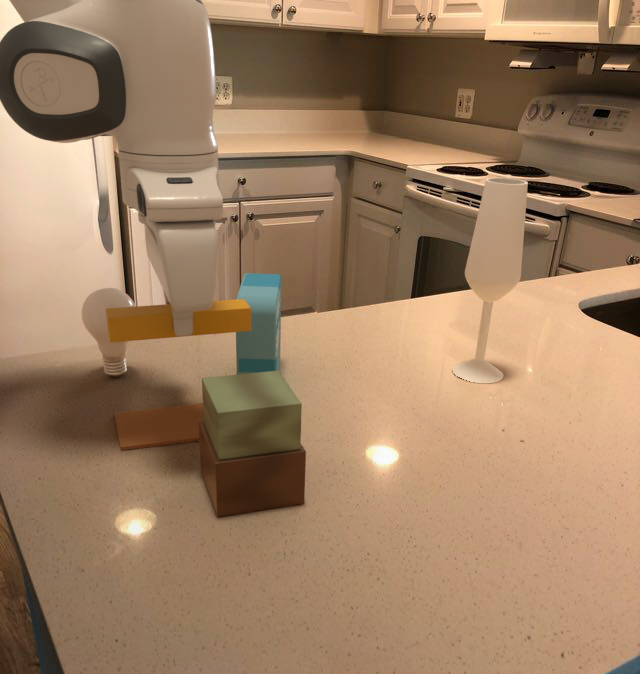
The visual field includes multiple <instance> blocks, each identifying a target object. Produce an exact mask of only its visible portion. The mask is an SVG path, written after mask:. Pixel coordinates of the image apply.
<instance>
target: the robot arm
mask: <svg viewBox="0 0 640 674" xmlns="http://www.w3.org/2000/svg"><path fill="white" fill-rule="evenodd" d="M9 2H10V4H11V5H12V6H13V8H14V9H15V11H16V12H17V14H18V15H19V17H20V19H22V21H23V22H21V23H19V24H17V25H15V26H13V27H12V28H11V29H9V30H8V31H7V32H6V33H5V34H4V35H3V37H2V38H1V40H0V103H1V105H2V107H3V109H4V110H5V112H6V113H7V115H8V116H9V117H10V119H11V120H12V121H13V122H14V123H15V124H16V125H17V126H18V127H19V128H20V129H22V130H23V131H25V132H26V133H27V134H29V135H31V136H33V137H35V138H38V139H40V140H43V141H49V142H53V143H60V144H71V143H77V142H80V141H87V140H91V139H94V138H98V137H113V139H115V140H116V143H117V152H118V163H119V173H120V184H121V192H122V193H121V196H122V202H123V204H124V205H125V206H127V207H130V208H133V209H134V210H135V211H136V212H137V217H138V218H137V220H138V222H139V223H140V224H142V225H143V226H144V237H145V238H144V241H145V250H146V254H147V257H148V259H149V262H150V264H151V266H152V269H153V270H154V273H155V275H156V277H157V279H158V281H159V283H160V285H161V287H162V291H163V297H164V302H165V304H170V305H171V307H172V324H173V330H174V333H175V334H176V335H177V336H183V337H190V336H189V335H191V334H192V333H193V320H192V318H193V313H194V311H199V310H208V309H210V308H211V307H212V304H213V301H215V297H216V286H217V260H218V228H217V223H216V221H220V220H222V219H223V218H224V199H223V196H222V191H221V189H220V173H219V171H220V170H219V147H218V142H217V138H216V136H215V135H216V134H215V132H214V131H215V130H214V123H213V122H214V121H213V120H214V119H213V118H214V110H215V106H216V100H217V82H216V80H217V79H216V65H215V52H214V43H213V33H212V27H211V22H210V17H209V14H208V11H207V9H206V6H205V4H204V3H203V2H202V1H201V0H9Z"/></svg>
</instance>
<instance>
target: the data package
mask: <svg viewBox="0 0 640 674" xmlns="http://www.w3.org/2000/svg"><path fill="white" fill-rule="evenodd" d="M237 299H244V300H245V301H246V302H247V304H248V305H249V306H250V308H251V331H243V332H235V358H236V360H235V361H236V363H235V365H236V375H239V374H249V373H259V372H270V371H279V372H280V365H281V338H282V337H281V332H282V331H281V330H282V329H281V328H282V326H281V325H282V276H281V274H279V273H278V274H276V273H254V272H253V273H251V272H249V273H248V272H245V273H244V274H243V277H242V280H241V282H240V286H239V289H238V292H237V295H236V298H235V300H237Z"/></svg>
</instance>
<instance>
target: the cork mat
mask: <svg viewBox="0 0 640 674" xmlns="http://www.w3.org/2000/svg"><path fill="white" fill-rule="evenodd" d="M114 419H115V425H116V430H117V436H118V443H119V447H120V451H128V450H135V449H144V448H151V447H159V446H168V445H175V444H184V443H192V442H200V440H199V421H204V419H203V402H202V403H192V404H182V405H173V406H172V405H171V406H165V407H155V408H154V407H153V408H144V409H137V410H126V411H116V412H114Z"/></svg>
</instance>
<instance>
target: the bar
mask: <svg viewBox="0 0 640 674" xmlns="http://www.w3.org/2000/svg"><path fill="white" fill-rule="evenodd" d="M105 310H106V319H107V328H108V334H109V339H110V342H111V343H112V342H124V341H128V342H135V341H148V340H158V339H160V340H161V339H171V338H180V337H184V336H177V335H176V334H175V333H174V330H173V324H172V307H171V305H170V304H166V303H165V304H153V305H138V306H137V305H136V307H122V308H108V309H105ZM192 320H193V333H192V334H191V335H189V336H188V337H195V336H206V335H216V334H217V335H218V334H230V333H236V332H243V331H251V308H250V306H249V305H248V304H247V302H246V301H245V300H244V299H237V300H236V299H225V300H214V301H213V304H212V307H211V308H210V309H208V310H199V311H194V313H193V318H192Z"/></svg>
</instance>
